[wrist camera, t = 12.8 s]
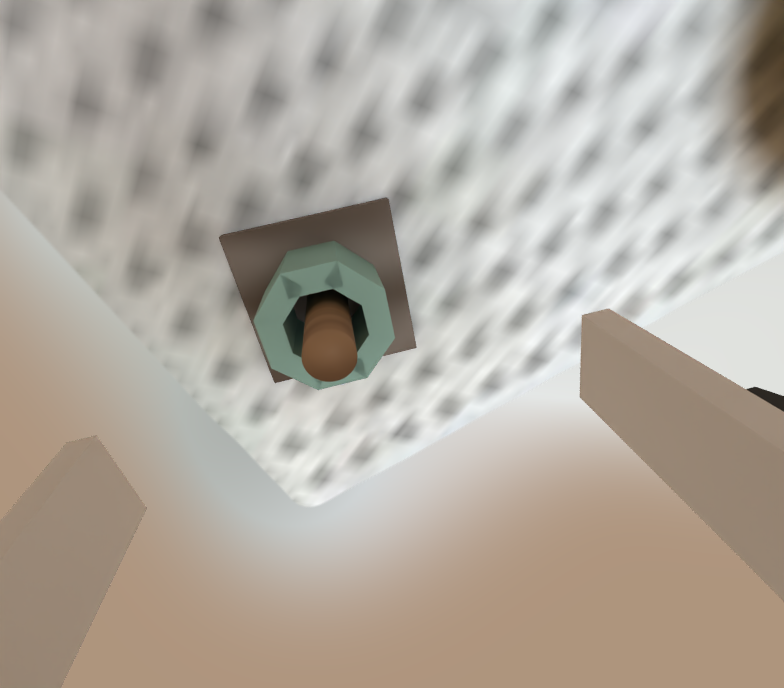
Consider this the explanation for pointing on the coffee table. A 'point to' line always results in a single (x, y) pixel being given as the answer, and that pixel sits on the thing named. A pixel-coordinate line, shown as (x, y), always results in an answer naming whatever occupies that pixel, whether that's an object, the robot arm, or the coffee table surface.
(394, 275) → the post stand
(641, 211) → the coffee table surface
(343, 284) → the collar
